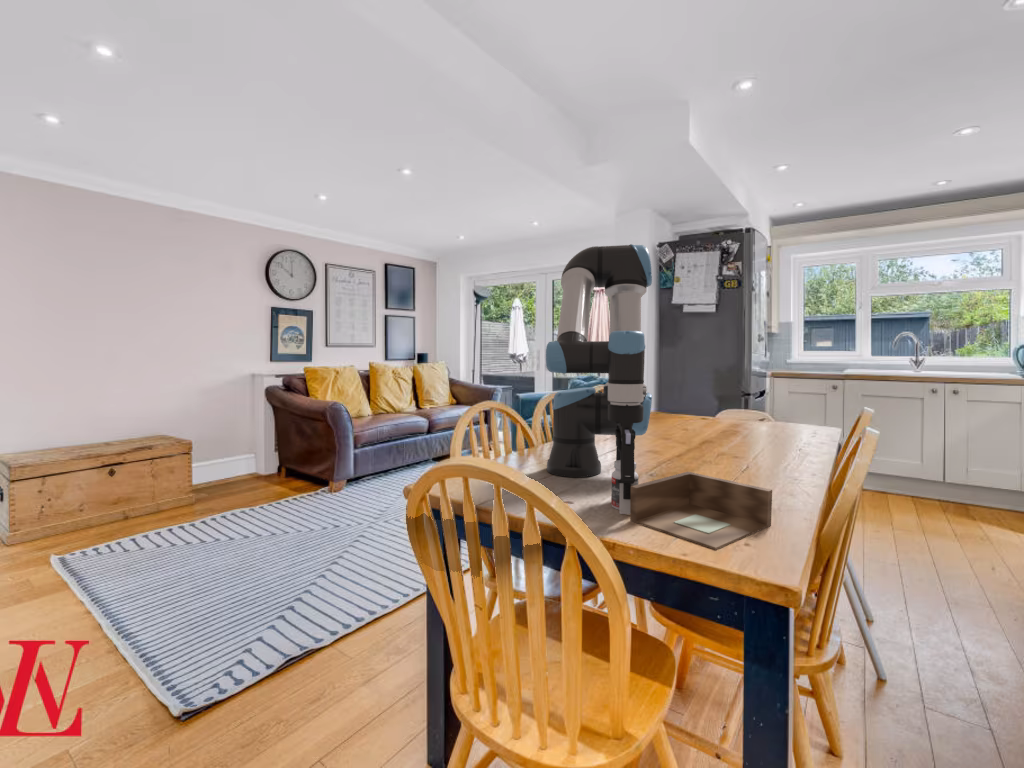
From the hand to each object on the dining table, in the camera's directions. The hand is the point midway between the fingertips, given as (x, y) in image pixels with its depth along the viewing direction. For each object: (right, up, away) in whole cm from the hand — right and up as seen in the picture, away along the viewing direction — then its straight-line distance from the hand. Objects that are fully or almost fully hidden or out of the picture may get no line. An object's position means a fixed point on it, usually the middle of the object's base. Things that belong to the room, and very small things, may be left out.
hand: (624, 506), depth 109 cm
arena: (+13, -1, -10) cm, 16 cm away
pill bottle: (0, 0, 0) cm, 1 cm away
